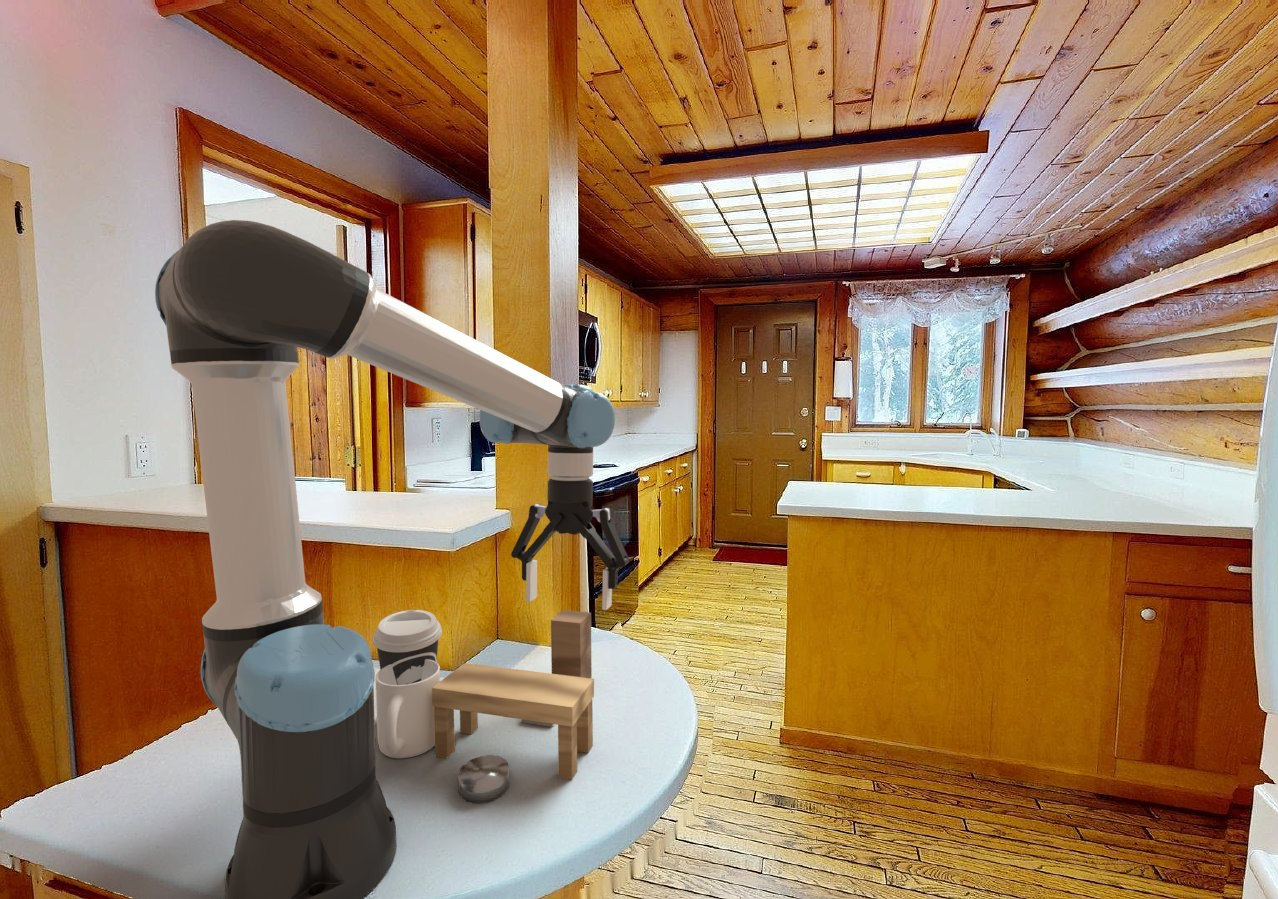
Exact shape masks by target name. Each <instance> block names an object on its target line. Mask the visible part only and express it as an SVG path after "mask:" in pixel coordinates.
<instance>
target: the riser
mask: <svg viewBox="0 0 1278 899" xmlns="http://www.w3.org/2000/svg"><path fill="white" fill-rule="evenodd" d="M594 697H595V679H594V678H592V677H591V678H583V677H575V676H566V675H558V674H552V673H550V672H542V671H541V672H540V671H533V670H525V669H517V668H516V669H515V668H508V667H499V666H492V665H484V664H478V663H477V664H475V663H468V662H464V663H462V665H460V666H459V667H458V668H456V669H454V670H453V671H452V672H451V673H450V674H448V675H447V676H446V677H444V678H443V679H442V680H440V682H439V683H438V684H436V685H435V686H434V687H432V706H434V720H435V746H434V748H435V753H434V755H435V757H437V758H443V759H448V758H449V757H450V756H451V755H452V754H453V753H455V751H456V748H455V747H456V744H455V743H456V741H455V740H456V739H455V710H457V711H459V730H460V732H459V733H460V734H467V735H473V734H474V732H476V731H477V729H478V728H479V722H478V721H479V719H478V718H479V717H478V714H482V715H483V714H484V715H491V716H496V717H504V718H511V719H517V720H522V719H523V720H530V721H537V722H544V723H550V724H555V725H557V740H558V741H557V745H558V746H557V750H558V751H557V752H558V754H557V756H558V757H557V758H558V778H559V779H564V780H565V779H566V780H571V781H572V780H573V779H574V777H575V776H576V774H577V772H578V752H580V753H586V754H589V753H590V751H591V749H592V747H594V740H593V739H594V738H593V737H594V734H593V733H594V731H593V727H594V726H593V725H594V724H593V723H594V722H593V721H594V720H593V715H594V714H593V712H594V710H593V709H594V708H593V699H594Z"/></svg>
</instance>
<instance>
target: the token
mask: <svg viewBox="0 0 1278 899" xmlns="http://www.w3.org/2000/svg"><path fill="white" fill-rule="evenodd" d="M509 789H510V764H509V762H508V761H507V759H505V758H504V757H503V756H498V755H493V754H490V755H489V754H488V755H481V756H477V757H474V758H472V759H469V760H468V761H467V762H465V763H464V764H463V765H461V767H460V768H459V770H458V795H459V797H460V799H461V800H463V802H466V803H468V804H473V805H483V804H488V803H491V802H493V801H497V800H499V799H500V798H501V797H503V796H504V795H505V794H506V793H507V792H508V790H509Z"/></svg>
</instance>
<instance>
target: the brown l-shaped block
mask: <svg viewBox="0 0 1278 899" xmlns="http://www.w3.org/2000/svg"><path fill="white" fill-rule="evenodd" d="M550 653H551V656H550V657H551V674H558V675H566V676H575V677H583V678H591V679H592V673H593V672H592V612H588V611H587V612H586V611H579V610H577V611H576V610H575V611H574V610H565V609H563V610H561V611H560V612H559V613H558V614H556V615H555V616H554V617H553V618H552V619H550ZM521 723H524V724H530V725H537V726H544V727H550V728H554V726H555V725H556V724H550V723H544V722H537V721H530V720H523V719H521Z"/></svg>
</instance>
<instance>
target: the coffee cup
mask: <svg viewBox="0 0 1278 899" xmlns="http://www.w3.org/2000/svg"><path fill="white" fill-rule="evenodd" d="M442 635H443V629H442V625H441V624H440V622H439V621H438V620H437V618H436V616H435V614H434V613H432V612H429V611H426V610H422V609H409V610H408V609H407V610H403V611H398V612H394V613H392V614H389V615H387V616H386V617H384V618H382V619H381V621H379V623H378V626H377V628H376V630H375V631H374V633H373V638H372V644H373V645H374V647H376V649H377V656H378V662H379V669H380V670H381V669H382V668H384V667H386V666H387V665H390V664H391V665H392V668H393V672H394V675H395V679H396V682H397V685H407V684H412V683H416V682H420V681H421V678H422V673H423V668H424V662H425V659H429V660H433V661H435V662H437V663H438V652H439V651H438V650H439V639H440V638H441V636H442ZM380 670H379V671H380Z"/></svg>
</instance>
